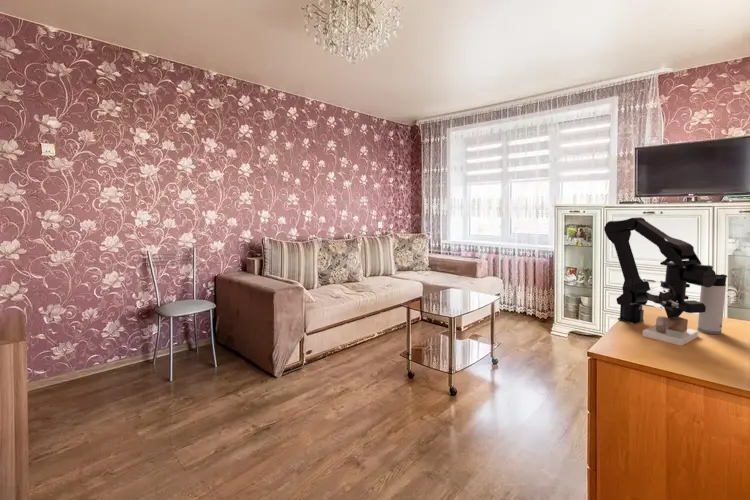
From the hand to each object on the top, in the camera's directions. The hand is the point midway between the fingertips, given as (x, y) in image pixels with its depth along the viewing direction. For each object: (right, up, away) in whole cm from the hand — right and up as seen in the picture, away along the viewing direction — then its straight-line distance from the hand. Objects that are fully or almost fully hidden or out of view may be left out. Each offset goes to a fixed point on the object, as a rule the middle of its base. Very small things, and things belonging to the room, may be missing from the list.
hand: (671, 324), depth 131 cm
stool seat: (-2, -4, -2) cm, 5 cm away
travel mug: (+14, -3, +1) cm, 15 cm away
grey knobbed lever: (-3, -2, -3) cm, 5 cm away
